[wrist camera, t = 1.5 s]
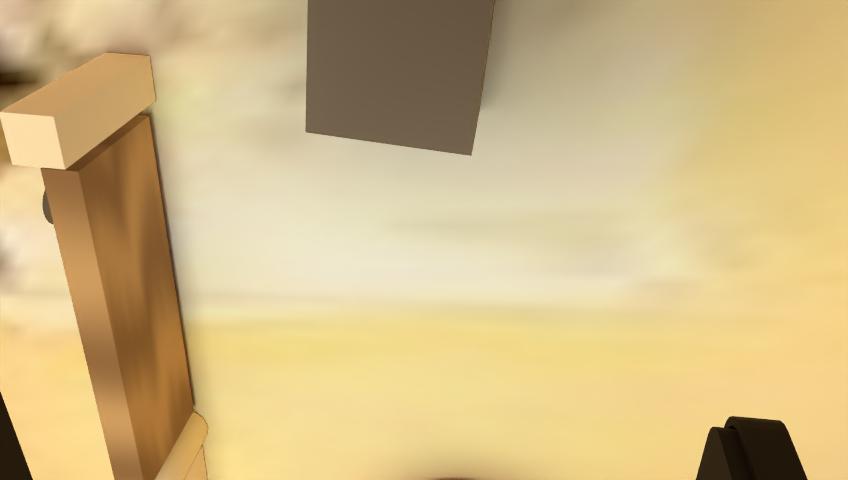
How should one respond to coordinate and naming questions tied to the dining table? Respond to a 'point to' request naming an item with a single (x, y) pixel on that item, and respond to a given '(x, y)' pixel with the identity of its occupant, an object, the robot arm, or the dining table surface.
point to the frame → (74, 137)
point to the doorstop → (398, 70)
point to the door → (124, 295)
